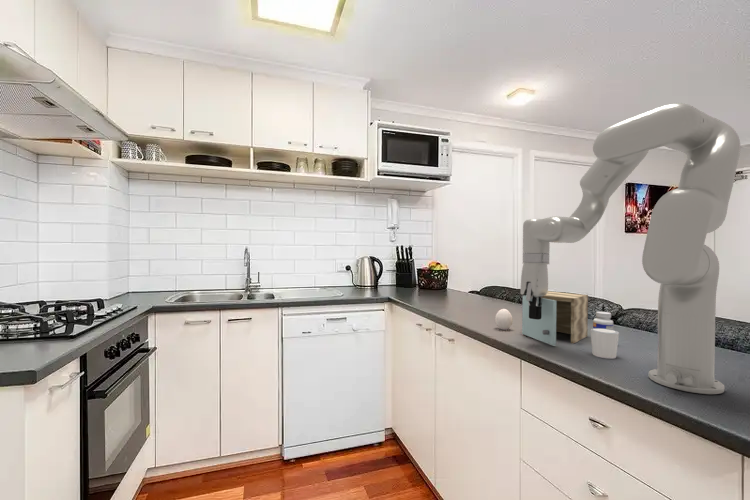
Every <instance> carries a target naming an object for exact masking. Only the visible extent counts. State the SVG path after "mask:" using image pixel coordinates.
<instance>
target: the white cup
mask: <svg viewBox="0 0 750 500" xmlns="http://www.w3.org/2000/svg"><path fill="white" fill-rule="evenodd" d="M589 331H590V341H591V352H592V355H593V356H595V357H598V358H603V359H611V360H612V359H617V353H618V346H619V338H620V337H619V336H620V332H619V331H617V330H614V329H613V330H610V329H603V328H593V327H592V328H590V330H589Z"/></svg>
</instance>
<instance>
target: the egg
mask: <svg viewBox="0 0 750 500" xmlns="http://www.w3.org/2000/svg"><path fill="white" fill-rule="evenodd" d="M494 318H495V319H494V321H495V324H496V326H497V328H498V329H500V330H509V329H510V328H511V327H512V326H513V324H514V323H513V322H514V321H513V320H514V319H513V315H512V313H511V312H510V311H509V310H508V309H506V308H502V309H500V310H497V313H496V314H495V317H494Z"/></svg>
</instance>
